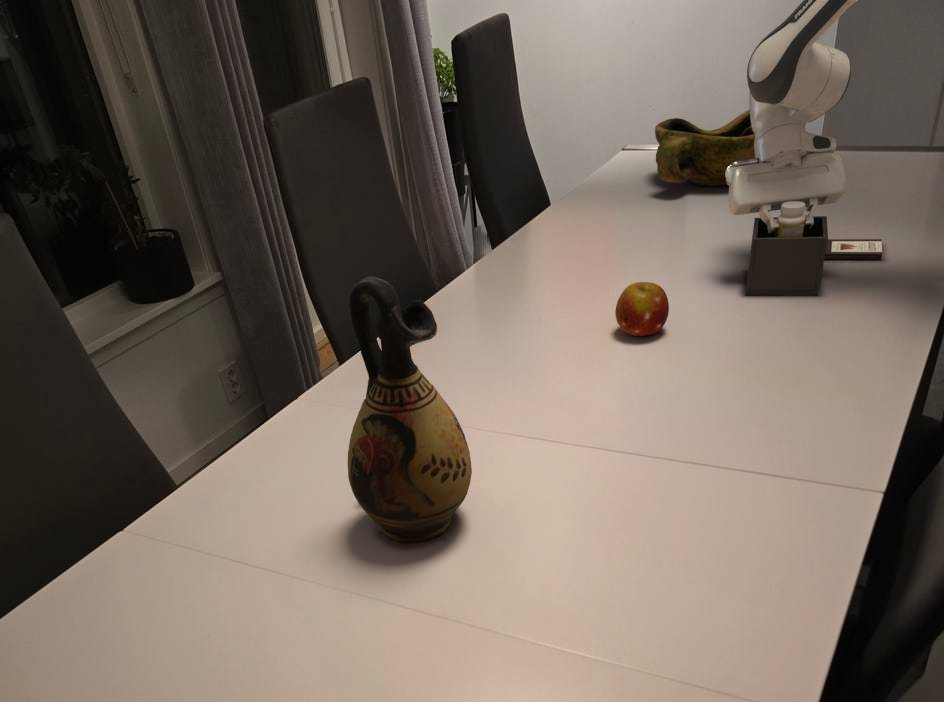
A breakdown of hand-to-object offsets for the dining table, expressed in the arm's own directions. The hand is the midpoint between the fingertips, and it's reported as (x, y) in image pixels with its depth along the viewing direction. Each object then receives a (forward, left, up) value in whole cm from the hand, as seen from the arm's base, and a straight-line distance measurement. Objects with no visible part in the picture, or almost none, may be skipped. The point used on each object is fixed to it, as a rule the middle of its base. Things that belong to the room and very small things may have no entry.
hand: (791, 229), depth 150 cm
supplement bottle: (0, -1, -5) cm, 5 cm away
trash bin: (0, -1, -10) cm, 10 cm away
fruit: (+23, +23, -10) cm, 34 cm away
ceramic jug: (+44, +85, -10) cm, 97 cm away
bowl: (+19, -75, -10) cm, 78 cm away
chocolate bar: (-9, -18, -10) cm, 22 cm away
